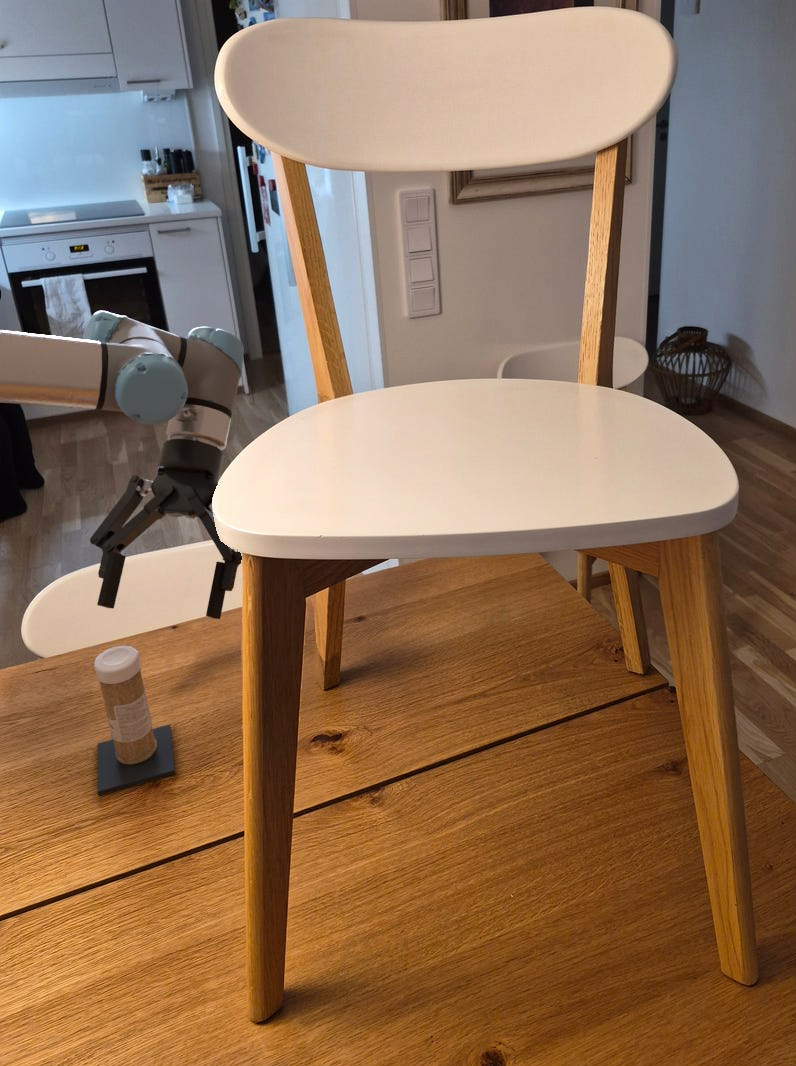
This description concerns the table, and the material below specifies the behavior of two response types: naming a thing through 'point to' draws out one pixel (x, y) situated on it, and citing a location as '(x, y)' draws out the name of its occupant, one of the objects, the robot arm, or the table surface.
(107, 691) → the sprinkles bottle
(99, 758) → the mat
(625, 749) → the table surface
